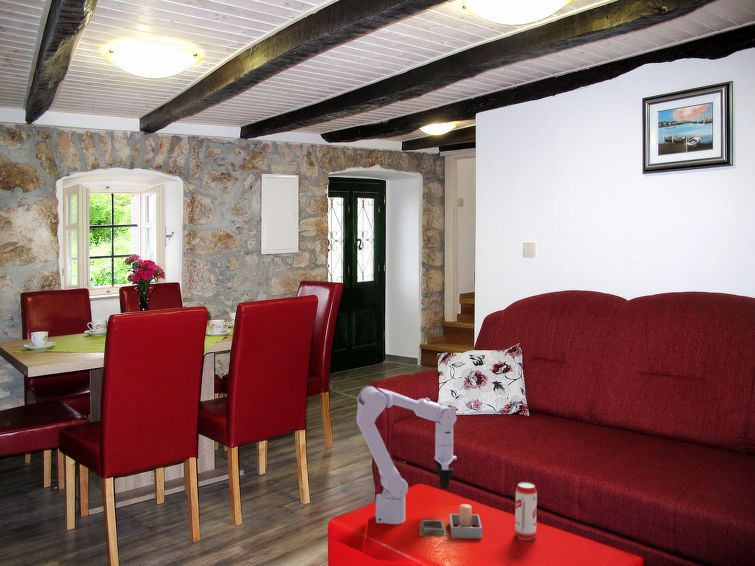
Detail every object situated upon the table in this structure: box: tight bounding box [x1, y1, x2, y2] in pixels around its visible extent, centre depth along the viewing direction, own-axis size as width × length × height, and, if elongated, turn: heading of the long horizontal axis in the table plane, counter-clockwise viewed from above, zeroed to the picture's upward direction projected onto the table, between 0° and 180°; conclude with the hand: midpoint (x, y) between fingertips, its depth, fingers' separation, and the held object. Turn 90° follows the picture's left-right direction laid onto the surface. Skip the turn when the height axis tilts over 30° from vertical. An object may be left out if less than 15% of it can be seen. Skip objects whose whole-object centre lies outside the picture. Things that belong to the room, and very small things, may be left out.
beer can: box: [514, 481, 538, 541], centre depth 202 cm, size 6×6×16 cm
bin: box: [449, 513, 483, 539], centre depth 204 cm, size 9×10×4 cm
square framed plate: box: [418, 519, 447, 537], centre depth 204 cm, size 8×8×2 cm
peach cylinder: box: [457, 503, 473, 527], centre depth 204 cm, size 4×4×8 cm
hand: (443, 484), depth 217 cm, fingers open, 7 cm apart
